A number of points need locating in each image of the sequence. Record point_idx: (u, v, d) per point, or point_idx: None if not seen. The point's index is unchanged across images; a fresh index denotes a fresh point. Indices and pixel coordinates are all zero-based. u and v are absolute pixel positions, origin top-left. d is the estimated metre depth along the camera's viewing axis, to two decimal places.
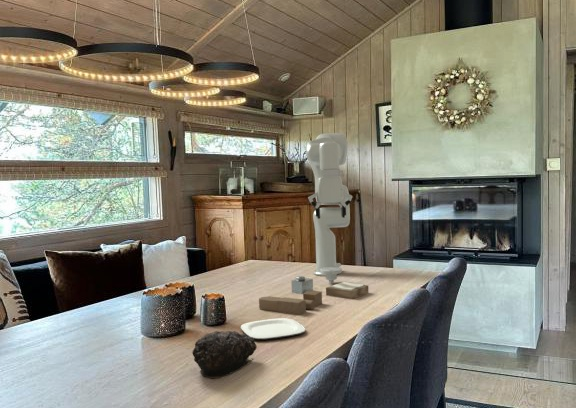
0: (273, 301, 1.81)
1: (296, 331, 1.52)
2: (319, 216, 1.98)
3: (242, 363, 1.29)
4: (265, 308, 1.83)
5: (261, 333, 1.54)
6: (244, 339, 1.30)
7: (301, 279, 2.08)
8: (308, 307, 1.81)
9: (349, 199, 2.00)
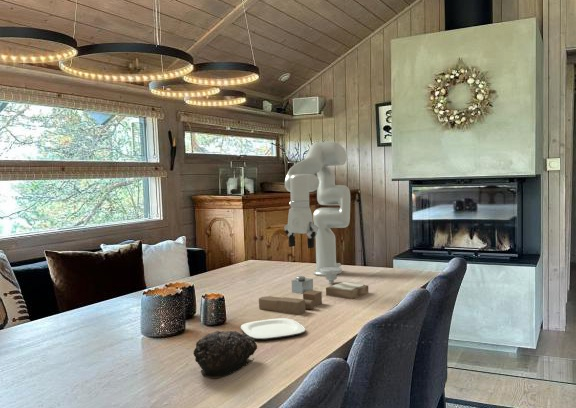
0: (273, 301, 1.81)
1: (296, 331, 1.52)
2: None
3: (243, 363, 1.29)
4: (265, 308, 1.83)
5: (261, 333, 1.54)
6: (245, 339, 1.30)
7: (301, 279, 2.08)
8: (308, 307, 1.81)
9: None
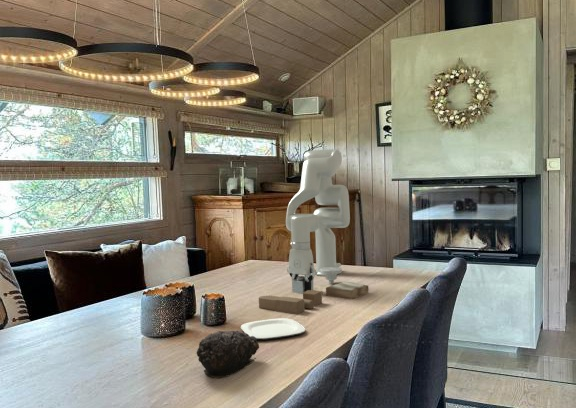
0: (272, 300, 1.82)
1: (296, 331, 1.52)
2: None
3: (245, 362, 1.30)
4: (264, 307, 1.84)
5: (261, 333, 1.54)
6: (247, 338, 1.31)
7: (302, 279, 2.08)
8: (307, 306, 1.82)
9: None
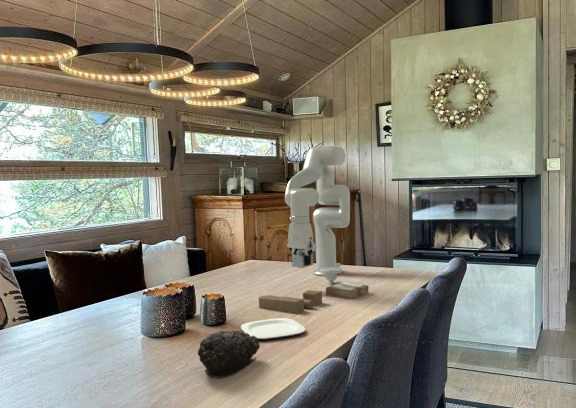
0: (272, 300, 1.83)
1: (296, 331, 1.52)
2: None
3: (246, 362, 1.30)
4: (264, 307, 1.85)
5: (261, 333, 1.54)
6: (248, 338, 1.31)
7: (301, 253, 2.08)
8: (306, 306, 1.82)
9: None
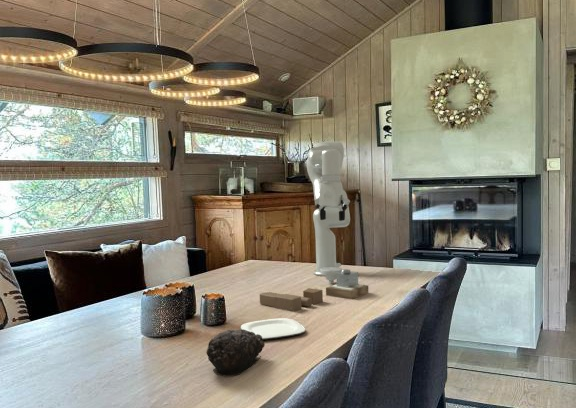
0: (271, 297, 1.87)
1: (296, 331, 1.52)
2: None
3: (253, 361, 1.31)
4: (264, 303, 1.89)
5: (261, 333, 1.54)
6: (254, 337, 1.32)
7: (347, 272, 2.01)
8: (304, 304, 1.85)
9: None
